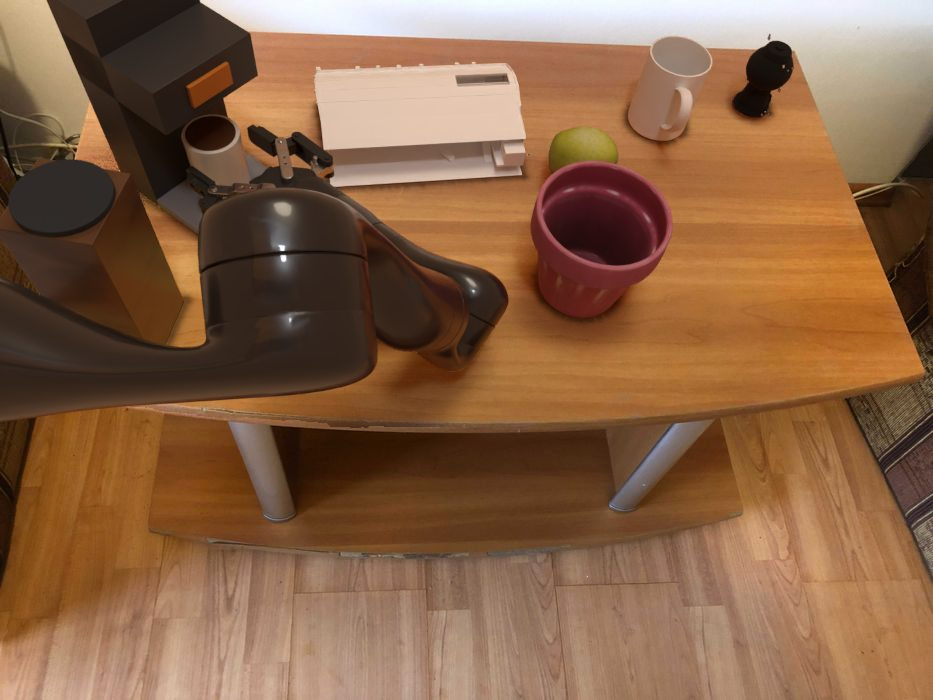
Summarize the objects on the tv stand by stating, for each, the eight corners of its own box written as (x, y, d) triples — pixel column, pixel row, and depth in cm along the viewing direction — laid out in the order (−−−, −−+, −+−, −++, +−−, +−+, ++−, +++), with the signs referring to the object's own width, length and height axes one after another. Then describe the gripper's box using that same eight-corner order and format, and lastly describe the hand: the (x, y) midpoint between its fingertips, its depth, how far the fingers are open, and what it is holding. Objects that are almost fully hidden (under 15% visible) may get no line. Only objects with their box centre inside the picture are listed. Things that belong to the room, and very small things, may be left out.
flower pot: (642, 344, 81) (681, 274, 70) (516, 333, 81) (535, 260, 70) (633, 243, 89) (667, 166, 78) (517, 232, 88) (535, 152, 77)
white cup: (192, 207, 84) (172, 147, 77) (209, 170, 88) (192, 109, 80) (244, 216, 84) (229, 157, 77) (259, 178, 87) (246, 118, 80)
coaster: (-8, 227, 59) (-11, 222, 58) (38, 157, 63) (35, 151, 62) (92, 244, 59) (89, 240, 58) (130, 173, 63) (128, 168, 62)
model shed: (324, 188, 89) (319, 144, 83) (315, 104, 96) (311, 59, 90) (524, 175, 93) (534, 132, 87) (502, 96, 100) (509, 52, 94)
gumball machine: (779, 121, 103) (815, 60, 94) (743, 129, 101) (776, 67, 93) (754, 90, 106) (786, 28, 97) (719, 97, 104) (748, 34, 96)
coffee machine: (295, 191, 88) (266, 9, 68) (219, 250, 83) (163, 71, 62) (202, 127, 92) (148, -63, 72) (123, 180, 87) (41, -10, 66)
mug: (624, 99, 102) (646, 32, 93) (679, 104, 103) (707, 37, 94) (633, 163, 96) (658, 98, 87) (692, 167, 96) (723, 103, 87)
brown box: (79, 351, 75) (-8, 227, 59) (110, 288, 79) (38, 157, 63) (156, 364, 75) (92, 244, 59) (184, 301, 79) (130, 173, 63)
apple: (605, 217, 91) (623, 169, 84) (535, 194, 91) (547, 145, 85) (619, 174, 95) (637, 126, 88) (552, 153, 95) (564, 103, 89)
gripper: (377, 165, 76) (263, 91, 80) (277, 247, 69) (158, 161, 73) (378, 215, 82) (273, 144, 86) (286, 293, 76) (177, 212, 80)
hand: (220, 152), depth 80 cm, fingers open, 8 cm apart
